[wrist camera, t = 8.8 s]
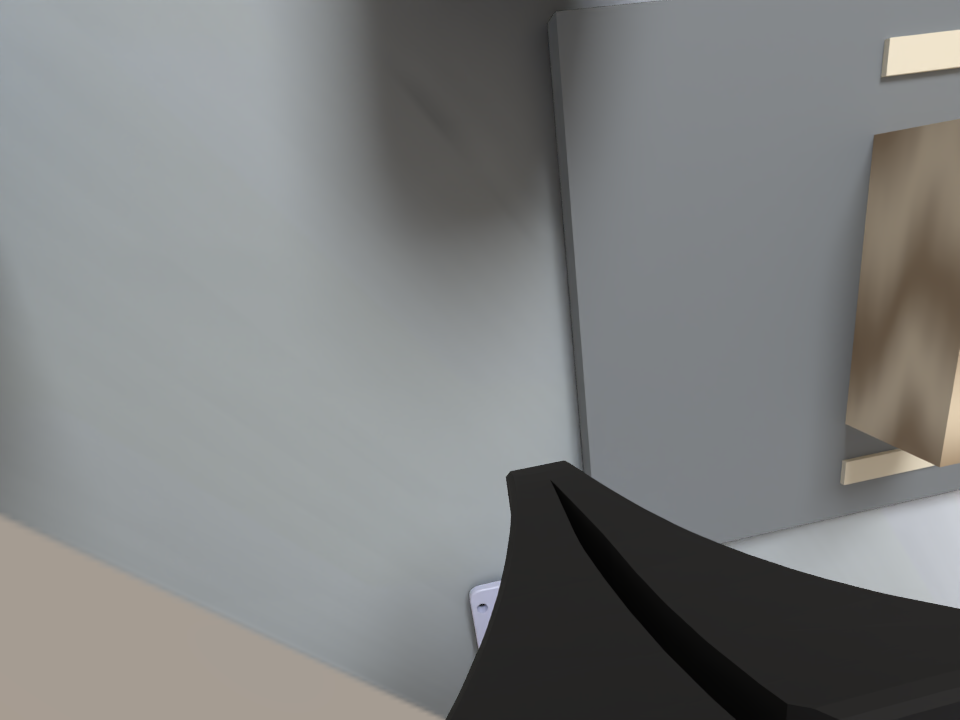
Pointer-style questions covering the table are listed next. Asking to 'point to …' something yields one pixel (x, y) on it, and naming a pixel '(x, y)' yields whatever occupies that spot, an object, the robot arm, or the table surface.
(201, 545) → the table surface
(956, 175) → the t block
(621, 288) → the board
